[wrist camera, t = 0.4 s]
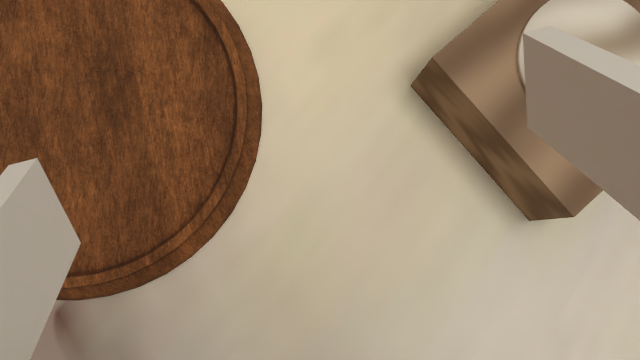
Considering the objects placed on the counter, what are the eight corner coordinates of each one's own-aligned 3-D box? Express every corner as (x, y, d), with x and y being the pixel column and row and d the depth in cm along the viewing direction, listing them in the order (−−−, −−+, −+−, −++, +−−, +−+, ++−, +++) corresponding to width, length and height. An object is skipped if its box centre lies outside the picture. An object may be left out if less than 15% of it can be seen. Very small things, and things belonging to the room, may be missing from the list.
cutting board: (224, -87, 53) (220, -104, 50) (295, 254, 50) (295, 255, 47) (-134, -25, 51) (-156, -39, 48) (-82, 337, 48) (-103, 342, 45)
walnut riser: (670, 92, 53) (743, 64, 44) (530, 220, 51) (578, 216, 42) (553, -36, 53) (602, -89, 45) (410, 85, 52) (434, 54, 43)
